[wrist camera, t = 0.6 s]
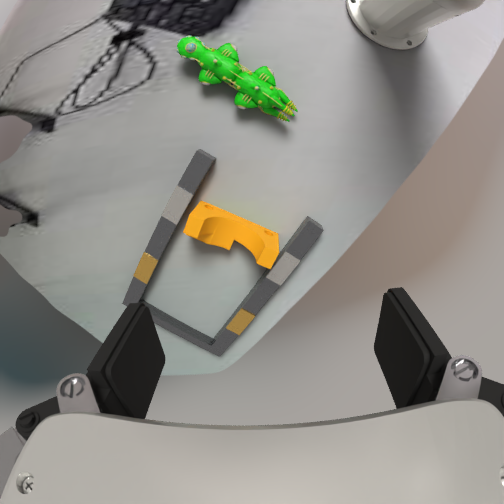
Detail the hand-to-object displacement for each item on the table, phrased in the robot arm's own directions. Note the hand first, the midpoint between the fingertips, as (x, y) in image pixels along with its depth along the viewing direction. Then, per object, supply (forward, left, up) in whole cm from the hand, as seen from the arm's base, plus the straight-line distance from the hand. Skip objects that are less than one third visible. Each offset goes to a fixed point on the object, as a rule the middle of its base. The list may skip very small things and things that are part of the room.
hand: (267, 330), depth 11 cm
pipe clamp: (+9, 0, -31) cm, 32 cm away
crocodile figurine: (-9, -11, -31) cm, 34 cm away
